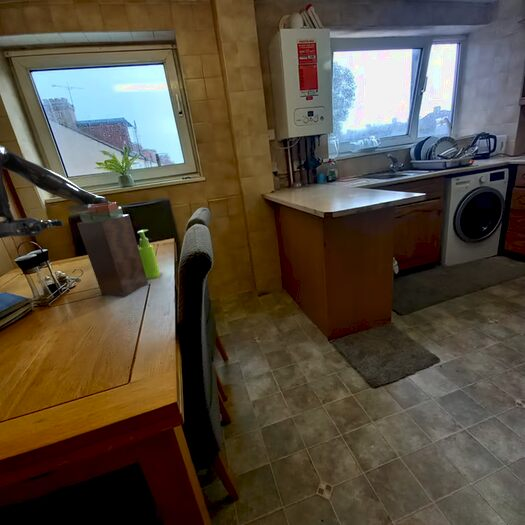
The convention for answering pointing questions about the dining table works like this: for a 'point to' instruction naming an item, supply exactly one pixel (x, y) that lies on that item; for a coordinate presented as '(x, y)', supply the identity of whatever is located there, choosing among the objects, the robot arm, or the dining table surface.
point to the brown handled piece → (95, 207)
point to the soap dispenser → (148, 257)
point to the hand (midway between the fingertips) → (51, 225)
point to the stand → (113, 252)
